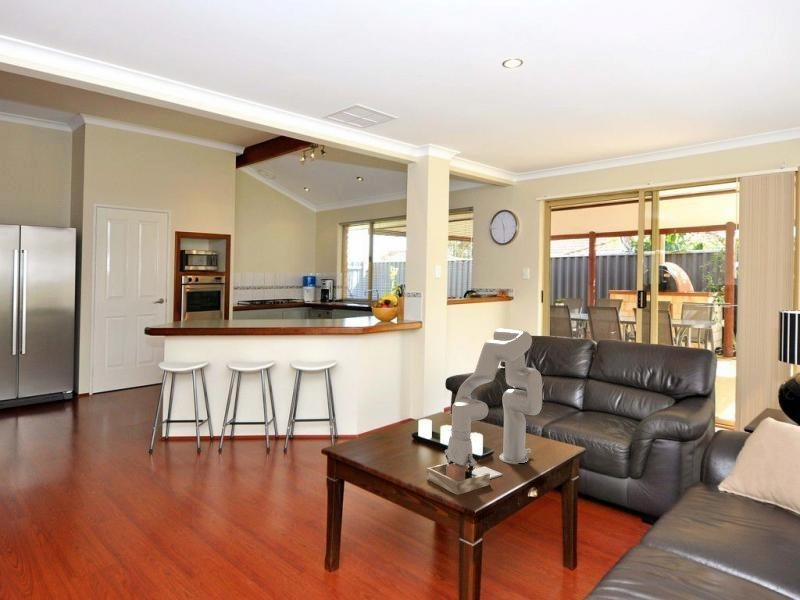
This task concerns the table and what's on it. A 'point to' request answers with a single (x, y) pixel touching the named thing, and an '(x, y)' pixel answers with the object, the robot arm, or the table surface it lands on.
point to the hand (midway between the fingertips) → (459, 476)
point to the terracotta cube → (455, 471)
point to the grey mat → (485, 470)
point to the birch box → (439, 478)
